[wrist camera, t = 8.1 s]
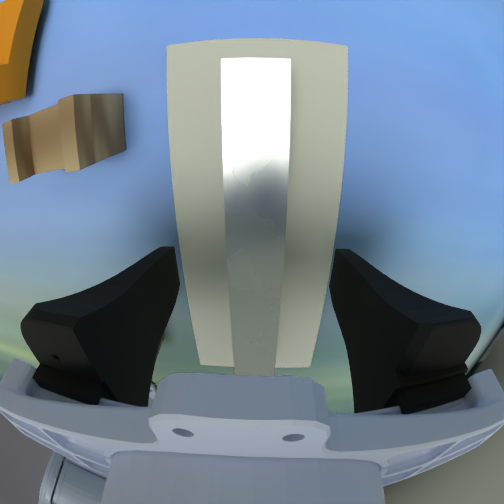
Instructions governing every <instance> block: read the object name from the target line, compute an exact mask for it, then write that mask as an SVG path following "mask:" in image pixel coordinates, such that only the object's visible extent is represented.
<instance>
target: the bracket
mask: <svg viewBox="0 0 504 504" xmlns="http://www.w3.org/2000/svg"><path fill="white" fill-rule="evenodd" d="M43 2H44V0H5V1H3V2H2V3H0V105H2V104H5V103H9V102H10V101H13V100H17V99H21V98H25V96H26V85H27V77H28V69H29V63H30V57H31V51H32V46H33V41H34V37H35V32H36V28H37V24H38V20H39V17H40V13H41V10H42V6H43Z"/></svg>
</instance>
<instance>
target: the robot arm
mask: <svg viewBox="0 0 504 504" xmlns="http://www.w3.org/2000/svg"><path fill="white" fill-rule="evenodd" d="M179 287H180V281H179V275H178V269H177V263H176V256H175V249H174V247H160V248H158V249H156V250H155V251H153V252H151V253H150V254H148V255H147V256H145V257H144V258H142V259H141V260H139V261H138V262H136V263H135V264H133V265H132V266H130V267H128V268H127V269H125V270H124V271H122V272H120V273H119V274H117V275H115V276H114V277H112V278H110V279H108V280H106V281H104V282H102V283H100V284H98V285H96V286H93V287H91V288H88V289H86V290H84V291H81V292H78V293H76V294H73V295H70V296H66V297H63V298H59V299H55V300H51V301H46V302H41V303H36V304H35V305H34V306H33V307H32V309H31V310H30V311H29V312H28V314H27V315H26V316H25V317H24V319H23V320H22V322H21V332H22V335H23V337H24V339H25V341H26V343H27V345H28V346H29V348H30V349H31V351H32V352H33V354H34V355H35V357H36V358H37V360H38V361H39V363H40V365H39V367H38V368H37V369H36V368H35V367H34V366H32V365H30V364H28V363H26V362H23V361H21V360H18V359H14V360H13V362H12V364H11V365H10V367H9V368H8V370H7V372H6V373H5V375H4V377H3V378H2V380H1V382H0V412H1V413H2V414H3V415H4V416H5V417H6V418H7V419H8V420H9V421H10V422H11V423H12V424H13V425H14V426H15V427H17V428H18V429H19V430H20V431H21V432H22V433H24V434H25V435H27V436H28V437H30V438H32V439H33V440H35V441H37V442H39V443H41V444H42V445H44V446H46V447H48V448H50V449H52V450H53V451H55V452H53V454H52V456H51V458H50V461H49V463H48V466H47V469H46V471H45V475H44V478H43V481H42V484H41V489H40V493H39V496H40V499H39V502H38V504H385V498H384V491H383V486H385V485H389V484H392V483H395V482H398V481H400V480H404V479H406V478H409V477H412V476H414V475H417V474H419V473H422V472H424V471H427V470H429V469H432V468H433V467H436V466H438V465H441V464H443V463H445V462H447V461H449V460H451V459H453V458H456V457H458V456H460V455H462V454H464V453H466V452H467V451H470V450H472V449H474V448H476V447H478V446H479V445H480V444H481V443H483V442H484V441H485V440H486V439H488V438H489V437H490V436H491V435H492V434H494V433H495V432H496V431H497V430H498V429H499V428H500V427H502V426H503V425H504V393H503V390H502V388H501V386H500V384H499V383H498V381H497V379H496V377H495V375H494V373H493V372H492V370H491V369H489V370H486V371H483V372H480V373H478V374H475V375H473V376H471V377H470V378H469V379H467V377H466V375H465V373H466V372H467V371H468V368H467V366H466V364H465V361H466V360H467V358H468V357H469V355H470V354H471V352H472V351H473V349H474V348H475V346H476V344H477V342H478V340H479V338H480V334H481V326H480V324H479V322H478V321H477V319H476V318H475V316H474V315H473V314H472V312H471V311H467V310H463V309H459V308H455V307H451V306H448V305H445V304H442V303H439V302H436V301H434V300H431V299H429V298H426V297H424V296H422V295H420V294H417V293H415V292H413V291H411V290H409V289H408V288H406V287H404V286H402V285H400V284H399V283H397V282H395V281H394V280H392V279H391V278H389V277H388V276H386V275H384V274H383V273H382V272H380V271H379V270H377V269H376V268H375V267H373V266H372V265H370V264H369V263H368V262H366V261H365V260H364V259H362V258H361V257H360V256H358V255H357V254H356V253H354V252H353V251H351V250H349V249H336V250H335V257H334V263H333V269H332V274H331V280H330V285H329V288H330V294H331V299H332V304H333V308H334V311H335V314H336V317H337V320H338V323H339V326H340V329H341V332H342V335H343V338H344V341H345V345H346V349H347V353H348V359H349V365H350V372H351V379H352V387H353V398H354V414H344V413H330V412H328V409H327V403H326V397H325V391H324V387H323V386H321V385H320V384H318V383H316V382H315V381H313V380H311V379H309V378H303V377H295V376H244V375H221V374H206V373H194V372H189V373H173V374H170V375H168V376H167V377H165V378H163V379H162V380H160V381H159V383H158V387H157V390H156V389H155V386H154V385H153V384H152V383H151V380H152V375H153V370H154V365H155V361H156V356H157V352H158V348H159V345H160V341H161V338H162V336H163V333H164V331H165V328H166V326H167V323H168V321H169V318H170V316H171V313H172V311H173V308H174V305H175V303H176V299H177V295H178V291H179Z"/></svg>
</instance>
